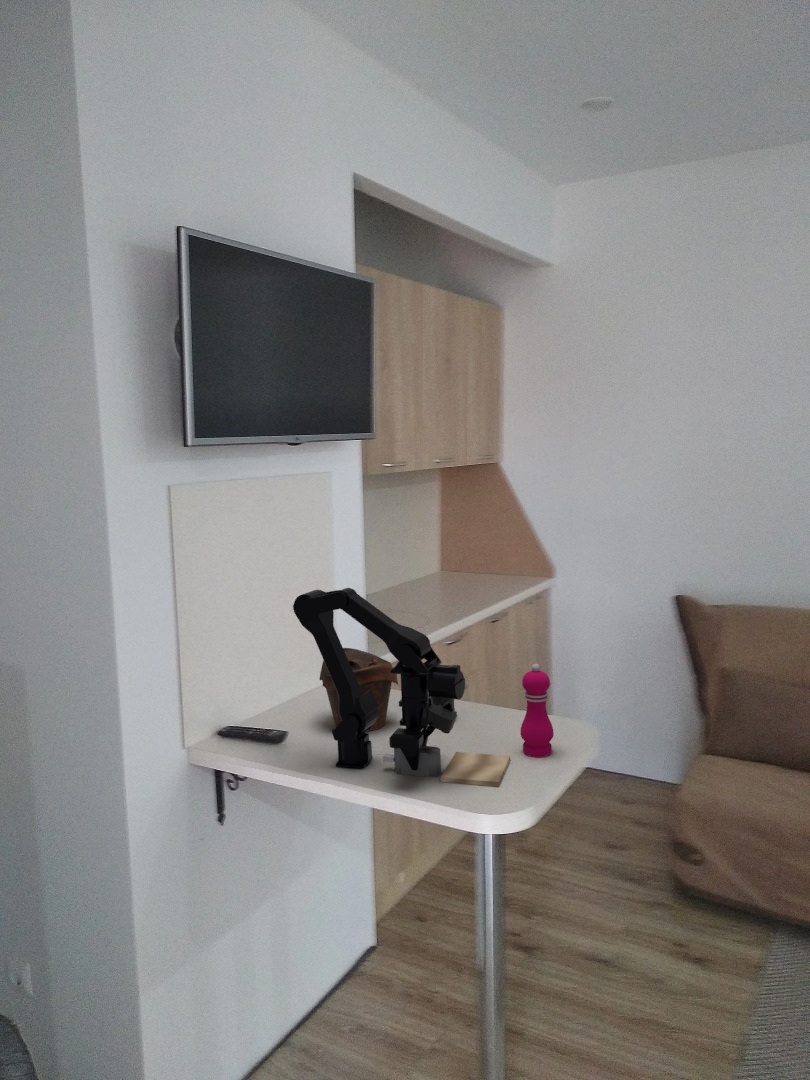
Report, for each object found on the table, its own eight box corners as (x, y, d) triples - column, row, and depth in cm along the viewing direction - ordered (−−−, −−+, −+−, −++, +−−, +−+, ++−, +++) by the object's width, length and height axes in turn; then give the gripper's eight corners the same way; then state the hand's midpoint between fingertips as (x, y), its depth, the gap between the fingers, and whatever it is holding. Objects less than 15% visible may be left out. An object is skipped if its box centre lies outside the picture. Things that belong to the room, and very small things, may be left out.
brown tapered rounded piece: (389, 738, 192) (386, 664, 190) (310, 734, 197) (306, 661, 195) (409, 715, 209) (406, 646, 207) (335, 711, 214) (332, 644, 213)
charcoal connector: (381, 772, 173) (380, 749, 172) (387, 765, 176) (386, 743, 176) (438, 777, 169) (437, 754, 168) (443, 769, 173) (442, 747, 172)
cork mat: (440, 781, 167) (440, 777, 167) (456, 756, 180) (456, 751, 180) (498, 786, 163) (498, 782, 163) (510, 760, 177) (510, 755, 176)
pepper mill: (560, 751, 180) (559, 663, 178) (539, 760, 176) (537, 670, 173) (535, 743, 186) (533, 657, 184) (514, 752, 181) (512, 664, 179)
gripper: (441, 711, 159) (443, 787, 161) (462, 683, 177) (464, 752, 179) (387, 707, 162) (390, 782, 164) (413, 680, 180) (415, 748, 182)
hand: (417, 766), depth 172 cm, fingers closed on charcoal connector, 4 cm apart
